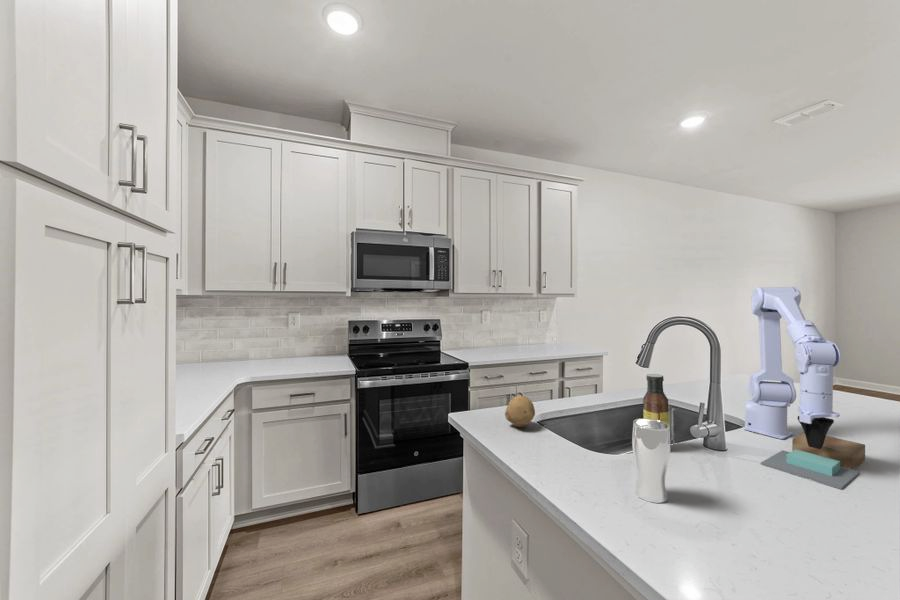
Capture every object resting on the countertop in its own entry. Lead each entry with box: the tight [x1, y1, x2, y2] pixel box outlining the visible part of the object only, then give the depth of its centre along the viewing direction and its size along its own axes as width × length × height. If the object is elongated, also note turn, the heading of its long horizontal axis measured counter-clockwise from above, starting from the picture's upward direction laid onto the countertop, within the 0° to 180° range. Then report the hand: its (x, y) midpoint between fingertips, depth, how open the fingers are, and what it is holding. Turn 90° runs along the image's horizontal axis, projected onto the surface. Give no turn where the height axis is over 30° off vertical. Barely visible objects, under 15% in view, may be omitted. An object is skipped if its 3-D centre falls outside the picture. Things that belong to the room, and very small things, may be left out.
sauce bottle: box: [642, 373, 671, 433], centre depth 101 cm, size 6×6×20 cm
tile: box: [786, 449, 840, 476], centre depth 90 cm, size 8×6×2 cm
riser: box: [791, 431, 866, 470], centre depth 95 cm, size 11×10×4 cm
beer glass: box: [631, 418, 671, 504], centre depth 77 cm, size 7×7×15 cm
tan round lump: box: [504, 395, 536, 428], centre depth 116 cm, size 9×9×10 cm
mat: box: [760, 450, 861, 490], centre depth 89 cm, size 14×14×1 cm
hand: (815, 447), depth 90 cm, fingers closed
